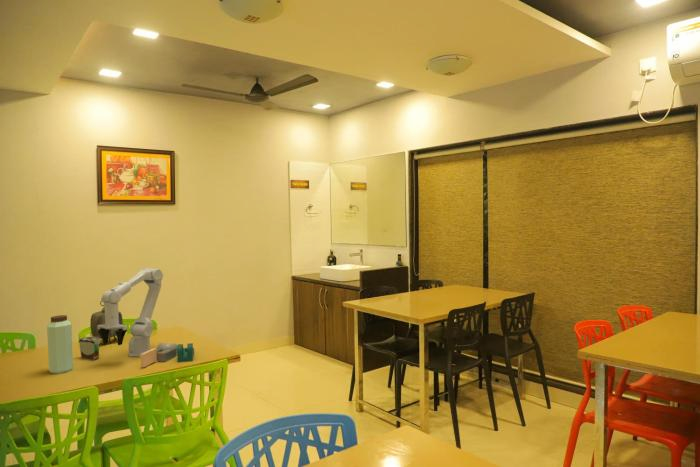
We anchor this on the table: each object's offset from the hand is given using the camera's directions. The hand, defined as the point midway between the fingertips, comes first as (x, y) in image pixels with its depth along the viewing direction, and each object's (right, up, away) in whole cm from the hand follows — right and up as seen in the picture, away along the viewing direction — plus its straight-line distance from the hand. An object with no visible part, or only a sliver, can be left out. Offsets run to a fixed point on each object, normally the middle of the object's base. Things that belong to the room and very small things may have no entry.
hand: (113, 344), depth 224 cm
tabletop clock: (-22, -9, +40) cm, 46 cm away
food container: (-16, -10, +12) cm, 22 cm away
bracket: (+31, -9, +10) cm, 34 cm away
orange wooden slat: (+18, -9, -2) cm, 20 cm away
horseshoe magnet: (+20, -9, +9) cm, 24 cm away
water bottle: (-20, -10, -8) cm, 24 cm away
